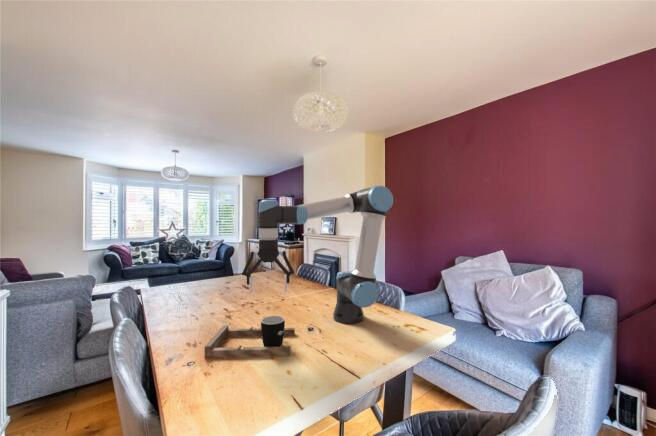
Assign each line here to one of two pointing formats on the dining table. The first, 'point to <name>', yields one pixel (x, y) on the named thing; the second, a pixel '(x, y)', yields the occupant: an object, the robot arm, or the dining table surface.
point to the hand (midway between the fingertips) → (268, 292)
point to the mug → (272, 331)
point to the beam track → (243, 351)
